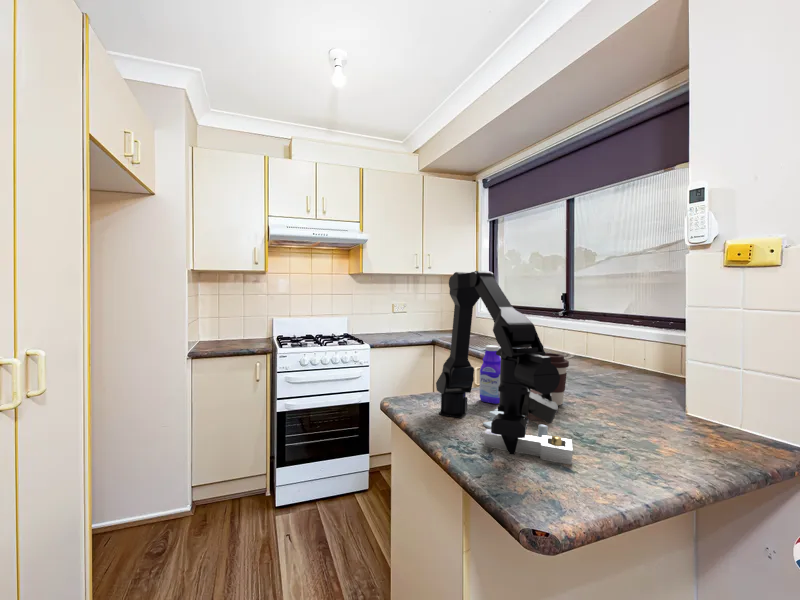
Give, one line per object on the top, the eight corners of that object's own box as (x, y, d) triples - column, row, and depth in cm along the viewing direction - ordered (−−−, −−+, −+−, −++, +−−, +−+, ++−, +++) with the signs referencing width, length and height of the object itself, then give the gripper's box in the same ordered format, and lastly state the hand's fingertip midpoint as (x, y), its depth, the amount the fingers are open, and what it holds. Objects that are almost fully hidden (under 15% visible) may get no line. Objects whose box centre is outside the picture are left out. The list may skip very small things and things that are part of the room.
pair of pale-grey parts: (478, 433, 94) (478, 414, 94) (485, 420, 103) (485, 402, 103) (546, 444, 88) (547, 424, 88) (547, 429, 97) (548, 411, 97)
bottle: (476, 401, 119) (478, 346, 119) (482, 397, 124) (484, 343, 123) (499, 405, 115) (501, 348, 115) (505, 401, 120) (506, 346, 120)
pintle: (550, 457, 82) (551, 438, 81) (551, 453, 83) (551, 435, 83) (561, 458, 81) (561, 440, 81) (561, 455, 83) (561, 436, 82)
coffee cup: (569, 401, 121) (571, 354, 121) (564, 409, 113) (566, 359, 112) (537, 396, 127) (538, 350, 126) (529, 403, 118) (531, 355, 118)
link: (570, 452, 84) (571, 439, 84) (571, 464, 78) (572, 450, 78) (487, 438, 91) (487, 426, 90) (482, 448, 85) (483, 435, 85)
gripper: (555, 397, 68) (552, 483, 69) (556, 375, 85) (553, 444, 86) (491, 390, 72) (489, 471, 73) (504, 369, 90) (502, 435, 90)
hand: (511, 454), depth 81 cm, fingers closed
